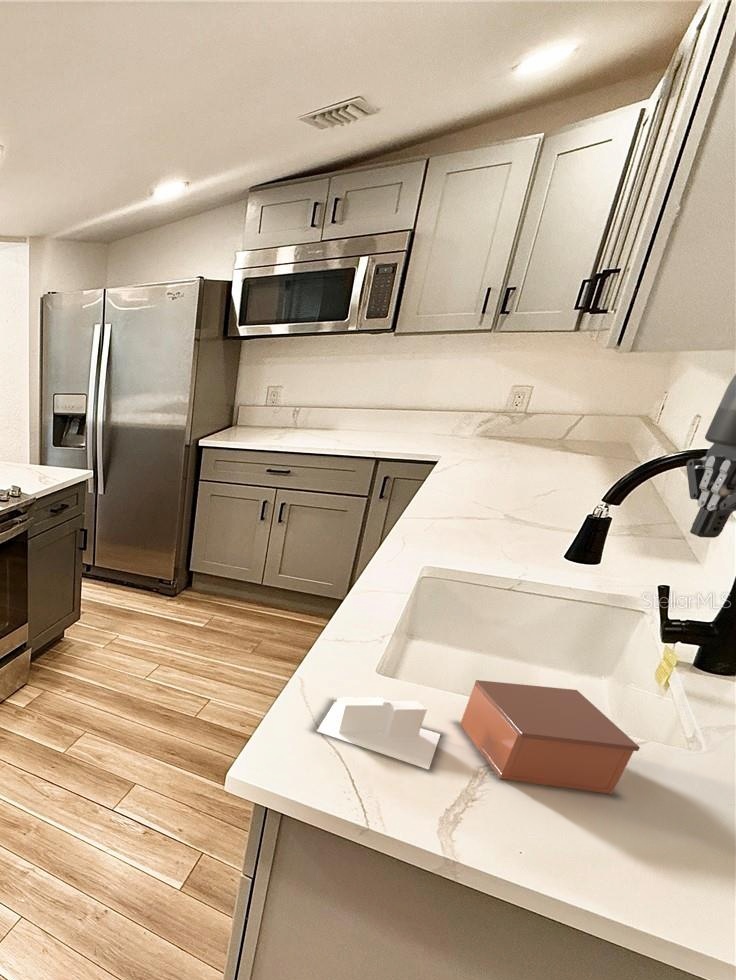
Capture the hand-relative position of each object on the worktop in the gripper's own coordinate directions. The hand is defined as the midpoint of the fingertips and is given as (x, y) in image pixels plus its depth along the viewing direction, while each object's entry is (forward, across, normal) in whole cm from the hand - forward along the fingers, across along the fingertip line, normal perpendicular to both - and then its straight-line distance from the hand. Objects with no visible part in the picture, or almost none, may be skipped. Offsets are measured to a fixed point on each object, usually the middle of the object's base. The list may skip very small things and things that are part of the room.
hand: (703, 535), depth 84 cm
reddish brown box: (+32, -12, +15) cm, 37 cm away
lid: (+24, -12, +15) cm, 31 cm away
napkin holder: (+32, -10, +35) cm, 48 cm away
